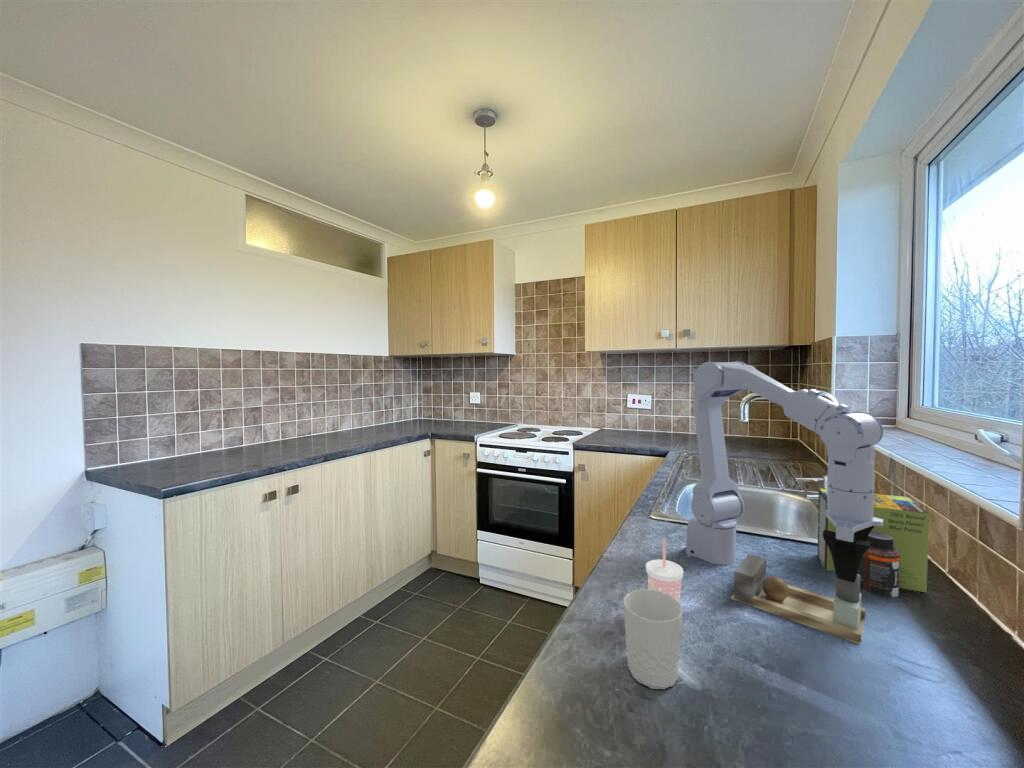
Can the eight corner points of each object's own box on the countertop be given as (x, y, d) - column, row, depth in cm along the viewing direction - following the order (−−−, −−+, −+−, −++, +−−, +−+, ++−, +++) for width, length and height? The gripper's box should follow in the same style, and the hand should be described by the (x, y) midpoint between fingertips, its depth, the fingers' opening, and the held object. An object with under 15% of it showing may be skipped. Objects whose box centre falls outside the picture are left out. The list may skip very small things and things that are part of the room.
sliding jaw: (832, 626, 65) (833, 577, 65) (837, 609, 69) (838, 563, 69) (857, 634, 63) (858, 584, 63) (860, 616, 67) (861, 569, 67)
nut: (759, 599, 73) (760, 577, 73) (765, 590, 76) (765, 569, 76) (786, 608, 70) (786, 586, 70) (790, 598, 73) (791, 577, 73)
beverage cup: (648, 604, 74) (648, 529, 74) (684, 613, 72) (684, 535, 71) (643, 624, 69) (642, 543, 68) (682, 634, 66) (682, 549, 66)
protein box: (928, 594, 76) (931, 513, 75) (825, 575, 83) (827, 501, 83) (907, 569, 85) (909, 496, 84) (816, 554, 92) (817, 487, 92)
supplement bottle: (907, 605, 73) (909, 543, 72) (869, 601, 74) (871, 540, 74) (884, 587, 79) (886, 529, 78) (849, 584, 80) (850, 527, 79)
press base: (730, 604, 74) (730, 571, 74) (746, 582, 81) (746, 552, 81) (860, 652, 61) (861, 612, 61) (865, 621, 69) (866, 585, 68)
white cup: (640, 645, 64) (640, 583, 63) (691, 671, 58) (691, 603, 58) (613, 672, 58) (612, 604, 58) (666, 704, 53) (666, 629, 52)
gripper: (881, 504, 57) (879, 598, 58) (885, 482, 68) (883, 562, 68) (819, 494, 62) (817, 581, 63) (832, 475, 73) (830, 549, 73)
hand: (848, 570), depth 66 cm, fingers open, 7 cm apart
